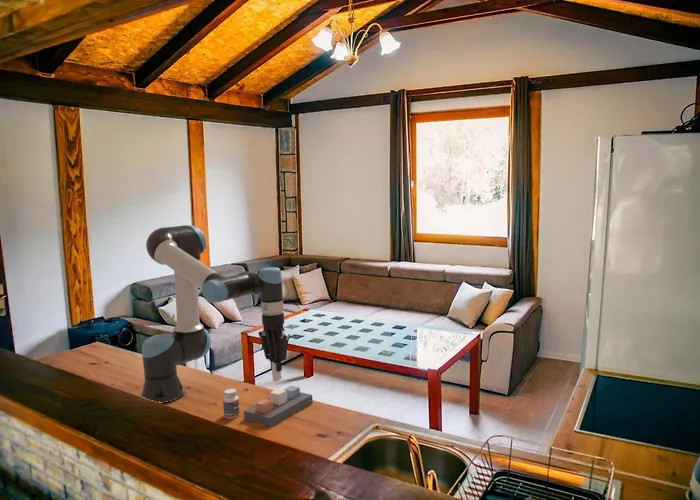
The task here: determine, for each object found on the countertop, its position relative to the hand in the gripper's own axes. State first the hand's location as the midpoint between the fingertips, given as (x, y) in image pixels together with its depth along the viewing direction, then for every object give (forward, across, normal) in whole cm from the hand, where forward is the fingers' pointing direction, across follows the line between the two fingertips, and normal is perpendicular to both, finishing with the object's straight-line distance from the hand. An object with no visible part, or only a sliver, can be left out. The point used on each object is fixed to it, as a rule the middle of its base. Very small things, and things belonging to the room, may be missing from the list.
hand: (277, 379), depth 181 cm
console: (+11, 0, 0) cm, 11 cm away
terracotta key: (+10, 0, -7) cm, 12 cm away
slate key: (+10, 0, +7) cm, 12 cm away
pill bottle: (+12, -12, -11) cm, 20 cm away
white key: (+8, 0, 0) cm, 8 cm away
